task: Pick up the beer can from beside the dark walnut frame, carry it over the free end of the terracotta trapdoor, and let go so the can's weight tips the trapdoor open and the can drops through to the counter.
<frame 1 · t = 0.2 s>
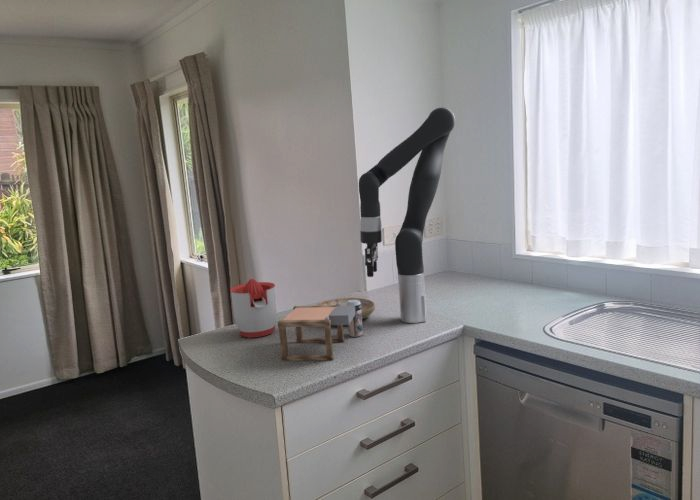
hand: (372, 274, 198), 18 cm above the worktop, tool pointing down, fingers open, 8 cm apart
ceramic bowl: (345, 318, 208), on the worktop
trapdoor: (320, 315, 172), point 11 cm above the worktop, hinge at 0.0°
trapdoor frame: (314, 349, 175), on the worktop
beer can: (356, 336, 186), on the worktop
citrus juicer: (258, 334, 196), on the worktop
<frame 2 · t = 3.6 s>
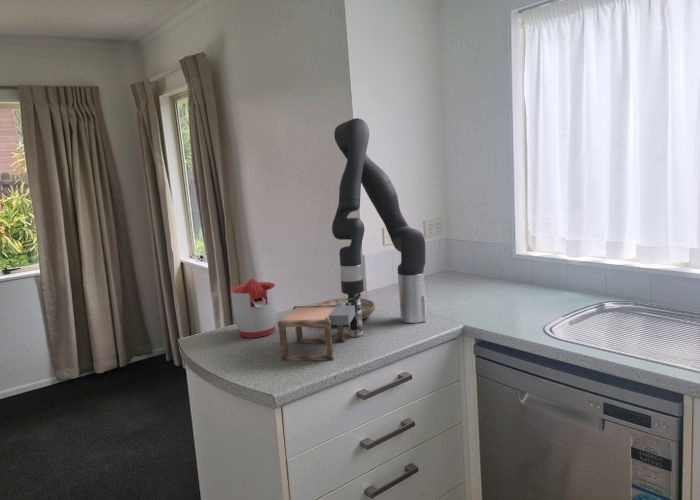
hand: (355, 327, 186), 3 cm above the worktop, tool pointing down, fingers closed on beer can, 4 cm apart
beer can: (356, 336, 186), on the worktop, touching gripper
everything else where it was.
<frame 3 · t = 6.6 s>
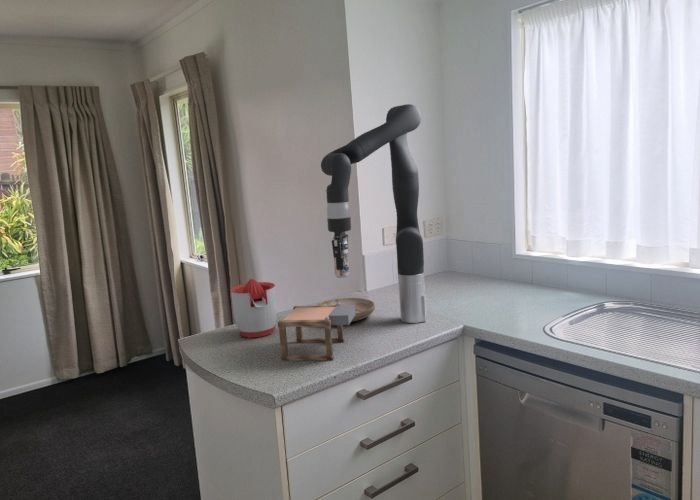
hand: (341, 267, 181), 24 cm above the worktop, tool pointing down, fingers closed on beer can, 4 cm apart
beer can: (342, 277, 181), point 21 cm above the worktop, touching gripper
everything else where it was.
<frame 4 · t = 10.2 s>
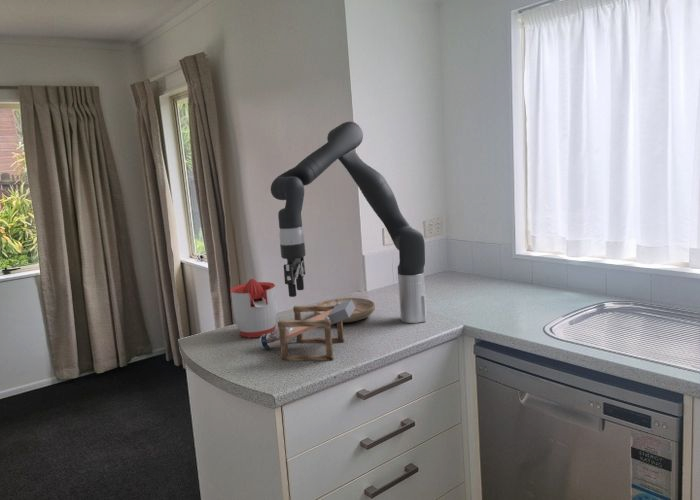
hand: (296, 293, 173), 19 cm above the worktop, tool pointing down, fingers open, 8 cm apart
trapdoor: (321, 319, 173), point 10 cm above the worktop, hinge at -20.7°, touching beer can
beer can: (294, 334, 175), point 5 cm above the worktop, touching trapdoor
everything else where it was.
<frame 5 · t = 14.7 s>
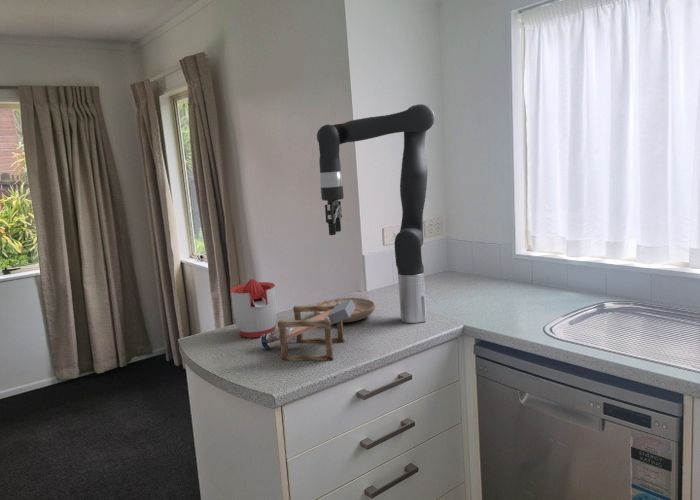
hand: (335, 233, 189), 34 cm above the worktop, tool pointing down, fingers open, 8 cm apart
nothing on the worktop moved.
at the end: beer can point 5.2 cm above the worktop; beer can inside the target area (7.1 cm from its centre), point 5.2 cm above the worktop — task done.
